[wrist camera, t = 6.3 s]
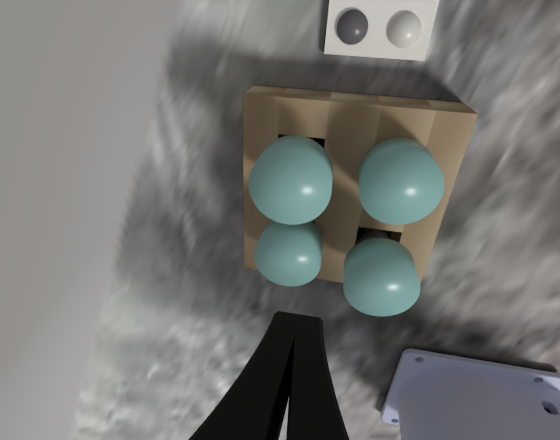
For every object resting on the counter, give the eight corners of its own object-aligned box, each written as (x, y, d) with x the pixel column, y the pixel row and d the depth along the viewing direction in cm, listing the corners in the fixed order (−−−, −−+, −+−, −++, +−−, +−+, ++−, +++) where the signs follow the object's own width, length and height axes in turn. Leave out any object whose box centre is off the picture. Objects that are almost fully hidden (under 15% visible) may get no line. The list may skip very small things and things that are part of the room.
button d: (339, 124, 14) (336, 153, 11) (330, 189, 16) (326, 229, 13) (268, 117, 15) (248, 143, 12) (266, 182, 16) (248, 219, 13)
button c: (434, 127, 15) (455, 155, 12) (416, 190, 16) (431, 229, 13) (362, 120, 15) (366, 146, 12) (352, 182, 17) (352, 219, 14)
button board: (463, 102, 14) (478, 114, 13) (410, 269, 19) (416, 293, 17) (254, 85, 16) (242, 93, 14) (252, 247, 20) (244, 268, 19)
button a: (414, 219, 16) (429, 265, 13) (399, 269, 17) (409, 321, 14) (349, 210, 16) (349, 254, 13) (340, 261, 18) (338, 310, 15)
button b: (328, 198, 17) (324, 236, 14) (322, 247, 19) (317, 291, 16) (270, 191, 18) (254, 227, 15) (268, 240, 19) (253, 281, 16)
